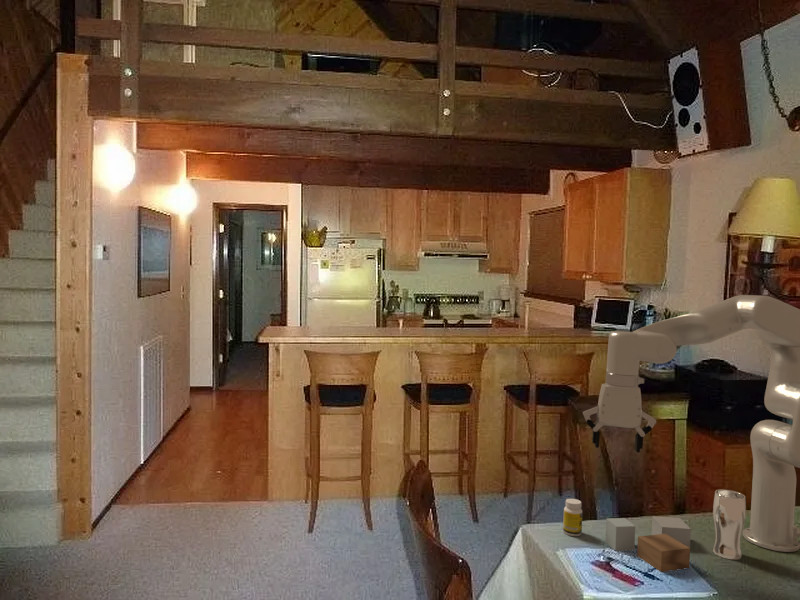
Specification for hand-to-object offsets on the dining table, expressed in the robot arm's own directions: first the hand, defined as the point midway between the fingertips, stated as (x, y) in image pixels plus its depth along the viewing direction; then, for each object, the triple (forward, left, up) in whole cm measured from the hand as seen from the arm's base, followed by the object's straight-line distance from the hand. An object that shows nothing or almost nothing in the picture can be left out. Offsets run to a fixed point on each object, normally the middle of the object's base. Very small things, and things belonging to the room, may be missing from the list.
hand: (616, 448), depth 145 cm
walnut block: (-8, +9, -25) cm, 28 cm away
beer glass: (-27, +6, -25) cm, 37 cm away
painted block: (-2, 0, -25) cm, 25 cm away
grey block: (-17, -2, -25) cm, 30 cm away
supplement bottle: (+7, -8, -25) cm, 27 cm away
